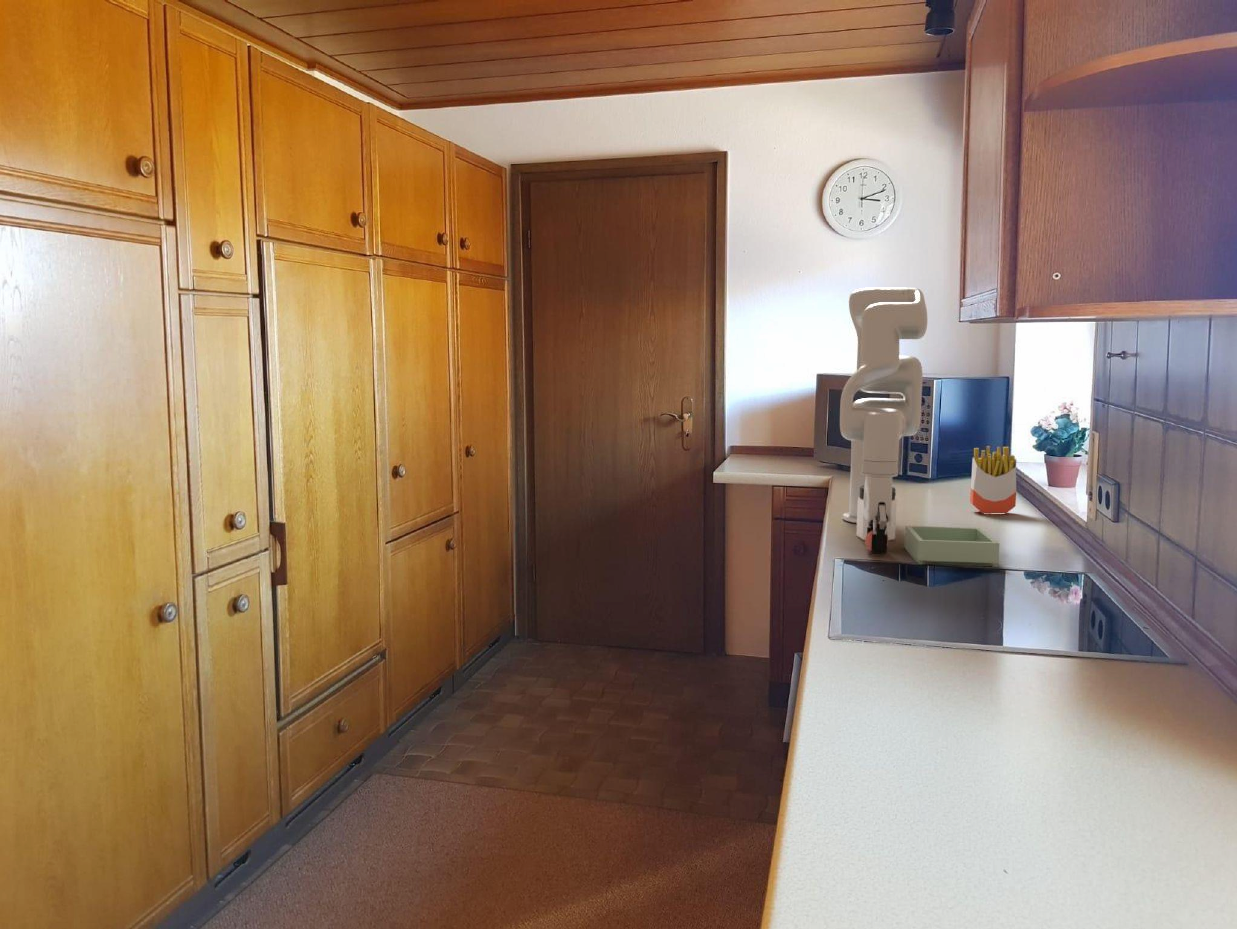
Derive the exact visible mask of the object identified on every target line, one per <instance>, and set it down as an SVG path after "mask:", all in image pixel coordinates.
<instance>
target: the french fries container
mask: <svg viewBox="0 0 1237 929" xmlns="http://www.w3.org/2000/svg"><path fill="white" fill-rule="evenodd" d="M996 448H997V451H993V452H992V454H991V446H989V445H987V446H986V448H985V449H986V450H982V449H981V454H980V450H979V449H980V448H979V447H974V448H973V457H972V459H971V460H972V461H971V462H972V463H971V478H970V479H971V480H970V481H971V482H970V497H969V498H970V499H969V500H970V504H971V505H973V507H975V509H976V510H978V512H980V513H981V514H982V513H1006V514H1008V513H1009V512H1010V511H1011V510H1013V509H1014V508H1015V507H1016V506H1017V505H1016V504H1017V503H1016V502H1017V459H1016V458H1015V457H1016V456H1015V455H1011V454H1010V446H1002V447H1001V446H997V447H996ZM1001 449H1002V450H1001ZM979 455H980V456H979Z"/></svg>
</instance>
